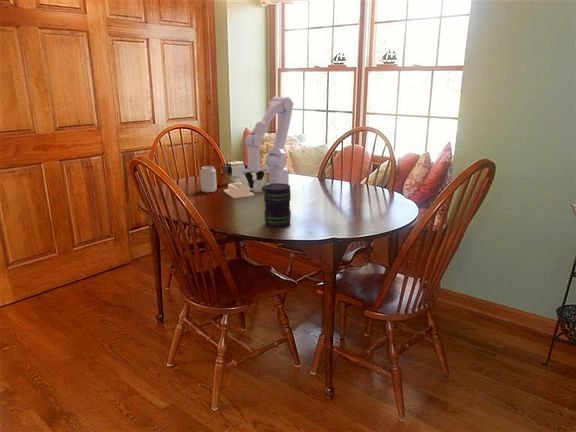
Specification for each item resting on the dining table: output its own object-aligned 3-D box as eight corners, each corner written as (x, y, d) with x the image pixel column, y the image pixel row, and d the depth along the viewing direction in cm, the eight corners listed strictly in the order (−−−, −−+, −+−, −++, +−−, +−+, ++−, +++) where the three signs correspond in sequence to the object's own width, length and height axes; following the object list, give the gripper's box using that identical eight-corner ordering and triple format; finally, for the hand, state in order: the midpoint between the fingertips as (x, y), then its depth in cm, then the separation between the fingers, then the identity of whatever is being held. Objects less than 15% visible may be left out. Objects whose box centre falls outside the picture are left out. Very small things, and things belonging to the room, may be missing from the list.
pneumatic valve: (224, 183, 246) (223, 160, 242) (243, 180, 252) (242, 158, 249) (229, 185, 242) (228, 162, 238) (248, 182, 248) (248, 159, 245)
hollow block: (243, 189, 233) (243, 181, 232) (254, 195, 221) (254, 187, 220) (224, 191, 229) (223, 183, 228) (234, 198, 217) (233, 189, 216)
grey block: (255, 188, 235) (254, 176, 233) (261, 191, 228) (261, 179, 226) (248, 189, 233) (248, 177, 232) (254, 192, 226) (254, 180, 225)
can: (218, 189, 234) (217, 165, 230) (214, 193, 227) (213, 168, 223) (203, 189, 235) (202, 165, 231) (199, 192, 228) (197, 168, 224)
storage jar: (290, 220, 184) (290, 183, 179) (291, 228, 174) (291, 189, 170) (264, 221, 183) (263, 183, 179) (264, 229, 174) (263, 189, 170)
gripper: (242, 162, 220) (243, 190, 224) (271, 159, 226) (271, 187, 230) (237, 160, 226) (238, 187, 230) (265, 157, 232) (265, 184, 236)
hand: (254, 187), depth 230 cm, fingers closed on grey block, 3 cm apart
